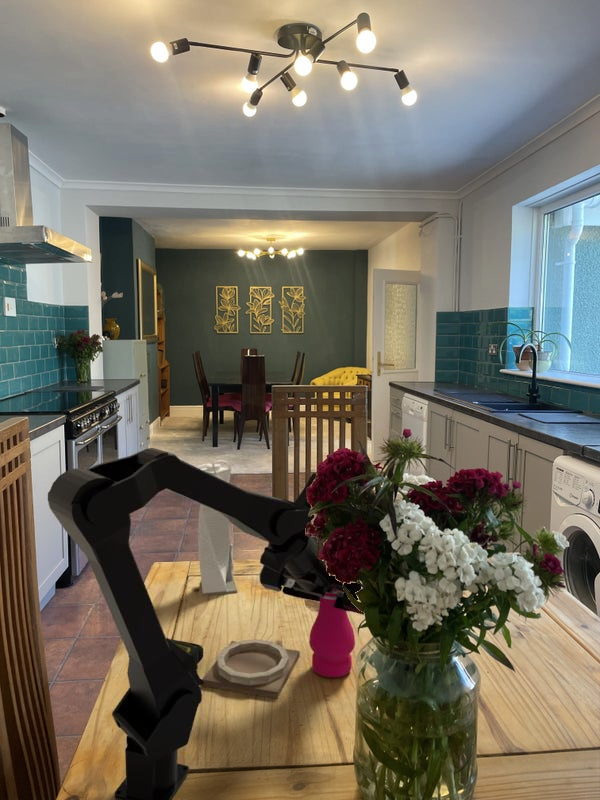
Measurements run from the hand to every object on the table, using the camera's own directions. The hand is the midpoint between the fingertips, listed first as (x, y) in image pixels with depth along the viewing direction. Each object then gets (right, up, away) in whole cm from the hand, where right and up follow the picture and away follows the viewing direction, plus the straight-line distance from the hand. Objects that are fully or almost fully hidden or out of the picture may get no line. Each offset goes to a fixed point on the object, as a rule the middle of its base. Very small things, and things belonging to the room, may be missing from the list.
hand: (336, 602), depth 95 cm
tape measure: (-26, -11, 0) cm, 28 cm away
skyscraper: (-23, -7, +30) cm, 39 cm away
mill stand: (-13, -10, -1) cm, 17 cm away
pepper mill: (-1, -10, 0) cm, 10 cm away
